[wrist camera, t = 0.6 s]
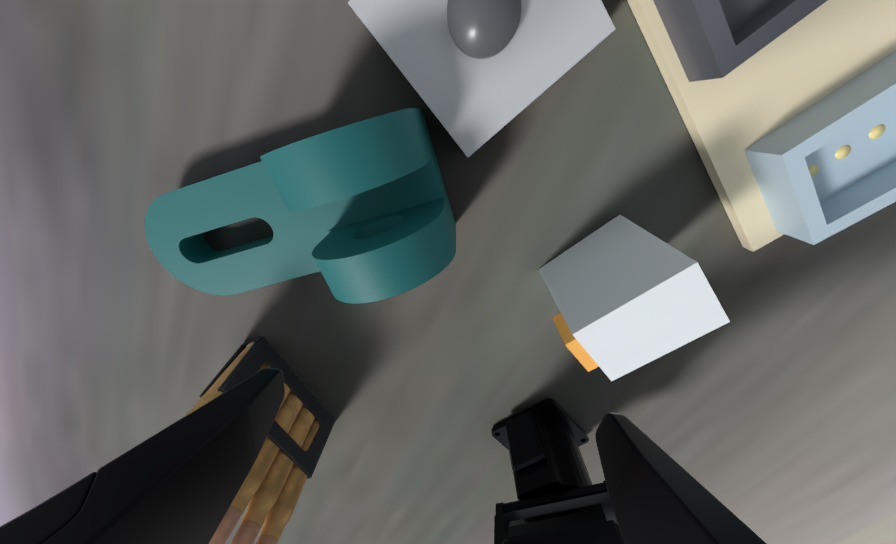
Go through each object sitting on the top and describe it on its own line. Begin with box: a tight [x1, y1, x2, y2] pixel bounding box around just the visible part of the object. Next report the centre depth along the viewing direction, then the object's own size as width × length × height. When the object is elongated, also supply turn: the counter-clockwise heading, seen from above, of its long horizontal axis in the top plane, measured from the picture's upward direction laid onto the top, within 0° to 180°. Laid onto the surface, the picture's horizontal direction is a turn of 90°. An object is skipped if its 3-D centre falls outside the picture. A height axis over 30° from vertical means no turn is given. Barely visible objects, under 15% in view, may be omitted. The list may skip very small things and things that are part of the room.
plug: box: [538, 215, 730, 381], centre depth 18 cm, size 4×7×7 cm, turn 130°
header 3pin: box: [744, 51, 896, 245], centre depth 16 cm, size 6×7×2 cm
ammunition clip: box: [186, 337, 335, 544], centre depth 21 cm, size 11×2×12 cm, turn 23°
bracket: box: [145, 108, 456, 304], centre depth 17 cm, size 18×7×8 cm, turn 106°
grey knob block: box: [348, 0, 615, 157], centre depth 14 cm, size 8×8×3 cm
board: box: [627, 0, 896, 252], centre depth 15 cm, size 22×10×1 cm, turn 40°
